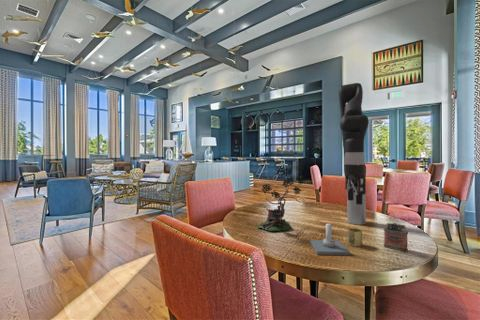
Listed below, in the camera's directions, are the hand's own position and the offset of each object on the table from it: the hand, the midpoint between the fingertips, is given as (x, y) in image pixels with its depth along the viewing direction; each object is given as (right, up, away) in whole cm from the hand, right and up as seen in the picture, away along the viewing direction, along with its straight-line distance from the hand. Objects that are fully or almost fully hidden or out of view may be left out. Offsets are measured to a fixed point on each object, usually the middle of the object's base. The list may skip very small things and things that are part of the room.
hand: (354, 202), depth 97 cm
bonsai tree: (-25, -18, +28) cm, 42 cm away
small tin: (+14, -18, -5) cm, 23 cm away
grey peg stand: (-12, -18, -4) cm, 22 cm away
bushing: (0, -18, 0) cm, 18 cm away
